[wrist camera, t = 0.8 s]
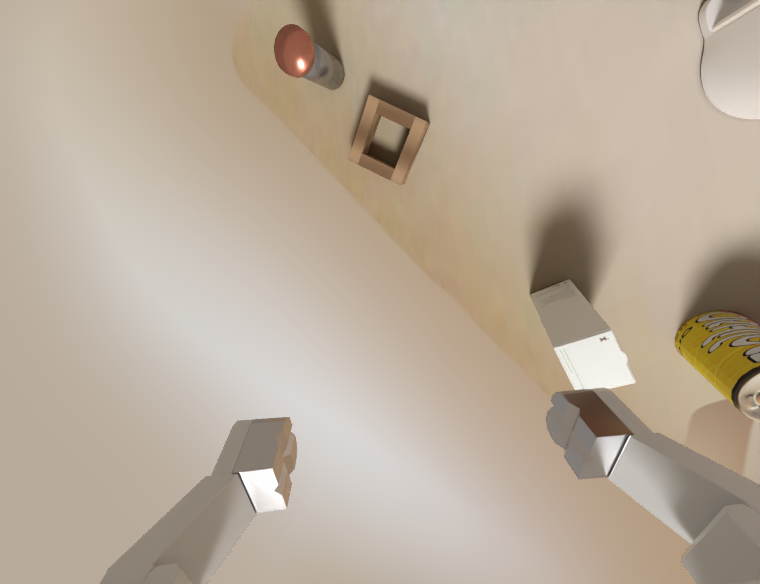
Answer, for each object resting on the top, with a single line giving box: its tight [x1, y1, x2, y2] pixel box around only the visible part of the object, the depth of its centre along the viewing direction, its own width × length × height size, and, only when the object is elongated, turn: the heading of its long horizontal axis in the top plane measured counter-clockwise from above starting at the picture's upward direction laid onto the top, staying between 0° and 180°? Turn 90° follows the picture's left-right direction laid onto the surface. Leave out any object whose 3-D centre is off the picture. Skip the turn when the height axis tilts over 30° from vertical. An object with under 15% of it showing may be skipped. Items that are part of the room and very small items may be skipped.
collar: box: [348, 95, 430, 185], centre depth 45 cm, size 9×9×3 cm
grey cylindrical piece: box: [274, 24, 345, 90], centre depth 40 cm, size 5×5×11 cm
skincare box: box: [530, 279, 636, 390], centre depth 42 cm, size 8×7×16 cm
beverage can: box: [675, 311, 760, 422], centre depth 39 cm, size 9×9×12 cm
